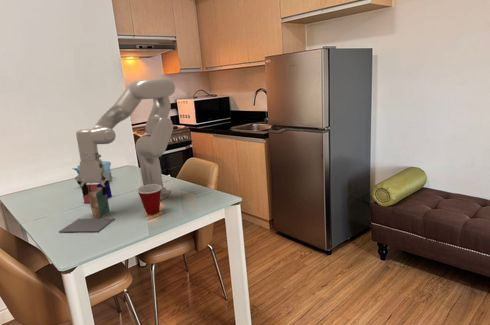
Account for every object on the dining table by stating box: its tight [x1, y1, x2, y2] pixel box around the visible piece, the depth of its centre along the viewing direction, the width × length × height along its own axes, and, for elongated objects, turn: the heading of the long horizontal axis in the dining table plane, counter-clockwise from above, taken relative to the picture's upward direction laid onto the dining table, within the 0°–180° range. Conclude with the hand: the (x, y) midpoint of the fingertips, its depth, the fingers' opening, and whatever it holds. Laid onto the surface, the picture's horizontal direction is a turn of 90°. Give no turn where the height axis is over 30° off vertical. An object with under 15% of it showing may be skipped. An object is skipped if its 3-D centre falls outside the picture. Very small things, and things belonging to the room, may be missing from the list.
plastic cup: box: [136, 184, 162, 216], centre depth 154 cm, size 11×11×12 cm
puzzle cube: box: [80, 179, 113, 204], centre depth 181 cm, size 10×10×10 cm
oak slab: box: [88, 187, 111, 219], centre depth 158 cm, size 4×8×12 cm, turn 170°
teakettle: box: [71, 160, 113, 180], centre depth 213 cm, size 19×19×15 cm
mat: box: [58, 217, 116, 234], centre depth 147 cm, size 18×13×1 cm
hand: (95, 194), depth 156 cm, fingers open, 9 cm apart
